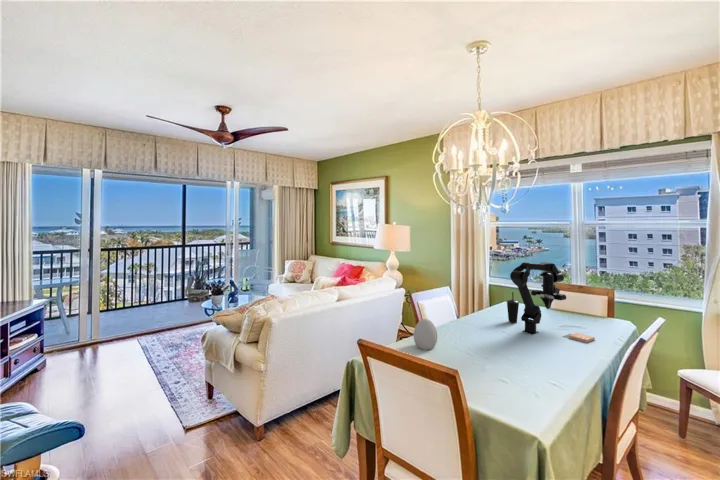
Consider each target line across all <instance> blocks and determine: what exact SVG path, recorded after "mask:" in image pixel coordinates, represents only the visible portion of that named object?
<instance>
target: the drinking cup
mask: <svg viewBox="0 0 720 480" xmlns="http://www.w3.org/2000/svg"><path fill="white" fill-rule="evenodd" d="M511 295H512V298H511V299H508V300H506V307H507V319H508V323H509V322H510V323H509V324H517V323H518V314H519V308H520V307H519V305H520V301H518V300H517V299H514V291H512V292H511Z"/></svg>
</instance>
